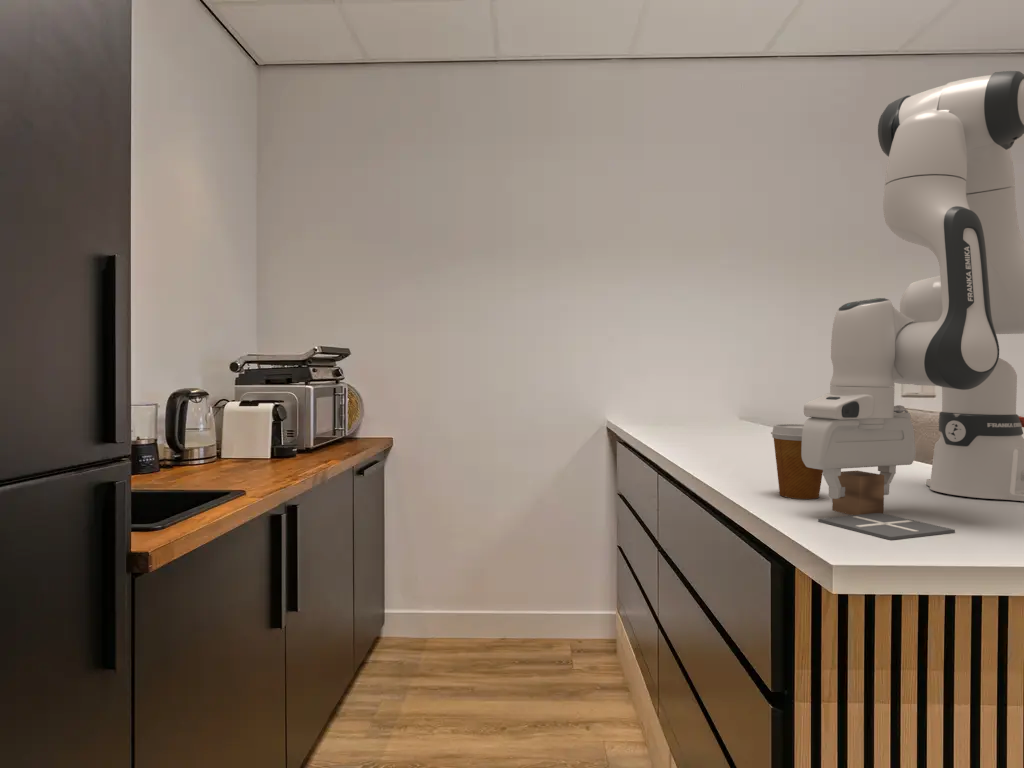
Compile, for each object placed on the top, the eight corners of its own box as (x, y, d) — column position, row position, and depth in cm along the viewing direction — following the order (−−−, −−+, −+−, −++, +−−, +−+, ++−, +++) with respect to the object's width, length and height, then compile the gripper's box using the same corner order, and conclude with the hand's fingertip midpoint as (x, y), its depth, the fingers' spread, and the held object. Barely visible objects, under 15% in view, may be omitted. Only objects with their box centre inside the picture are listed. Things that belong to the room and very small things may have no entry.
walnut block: (856, 508, 115) (857, 470, 115) (883, 514, 110) (884, 475, 110) (832, 510, 113) (833, 472, 113) (859, 517, 108) (859, 476, 108)
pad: (879, 515, 109) (879, 512, 109) (955, 532, 98) (955, 529, 98) (818, 521, 105) (818, 518, 105) (890, 540, 94) (890, 536, 94)
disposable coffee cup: (819, 491, 130) (820, 424, 129) (837, 501, 120) (838, 429, 120) (763, 490, 131) (764, 423, 130) (777, 500, 121) (779, 428, 121)
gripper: (891, 404, 118) (889, 489, 118) (795, 405, 110) (793, 496, 110) (927, 406, 112) (925, 496, 112) (828, 407, 104) (826, 504, 104)
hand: (859, 496), depth 111 cm, fingers open, 8 cm apart
